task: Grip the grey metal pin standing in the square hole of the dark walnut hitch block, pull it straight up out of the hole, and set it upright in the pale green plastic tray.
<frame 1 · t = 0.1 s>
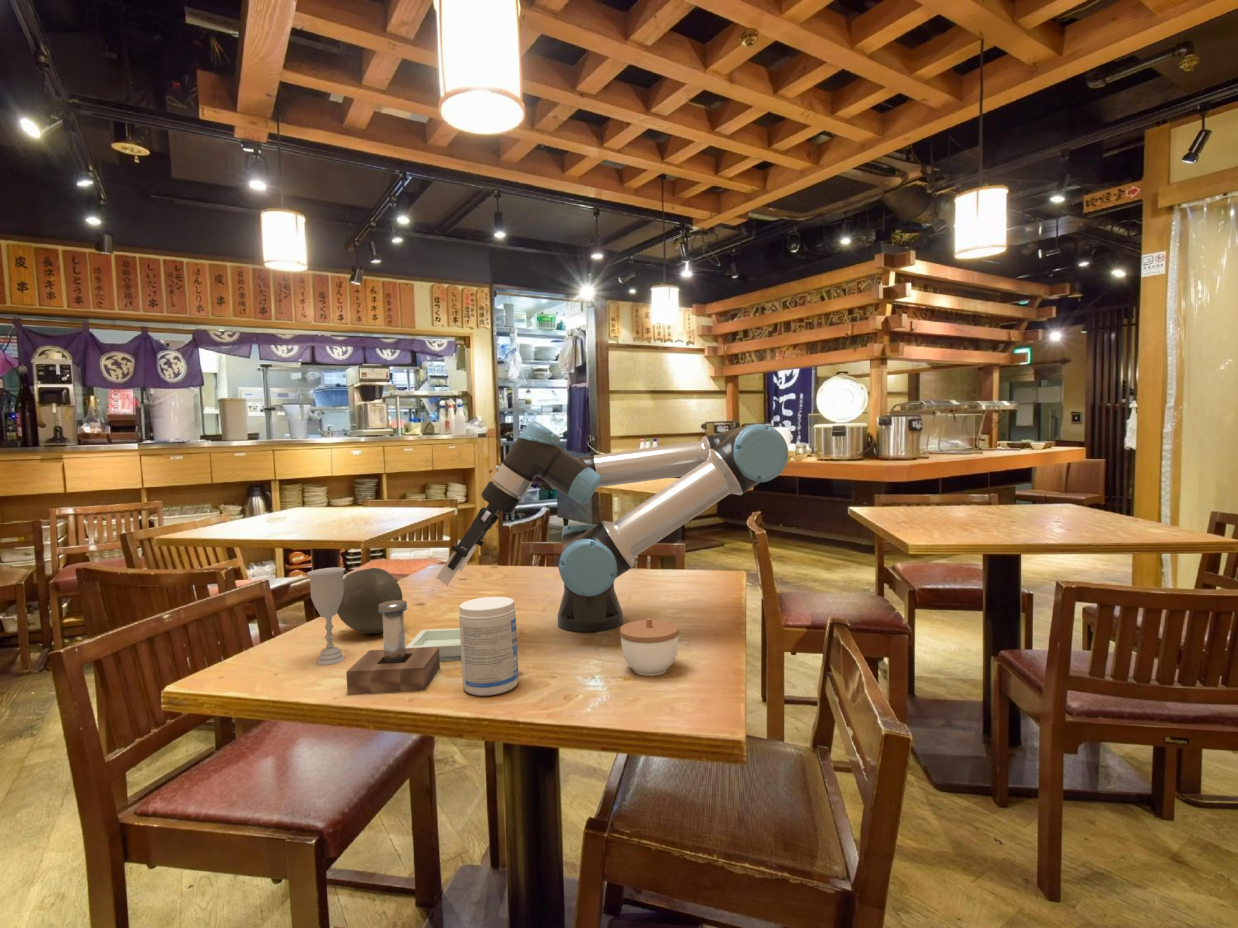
hand: (449, 574, 128), 15 cm above the table, tool tilted 35°, fingers open, 13 cm apart
lidded jar: (650, 670, 112), on the table
metal pin: (394, 642, 111), in the hitch block
tray: (448, 651, 126), on the table
hitch block: (396, 680, 111), on the table
supplement tub: (490, 687, 107), on the table
chalice: (330, 661, 123), on the table
dark grey ball: (371, 635, 140), on the table
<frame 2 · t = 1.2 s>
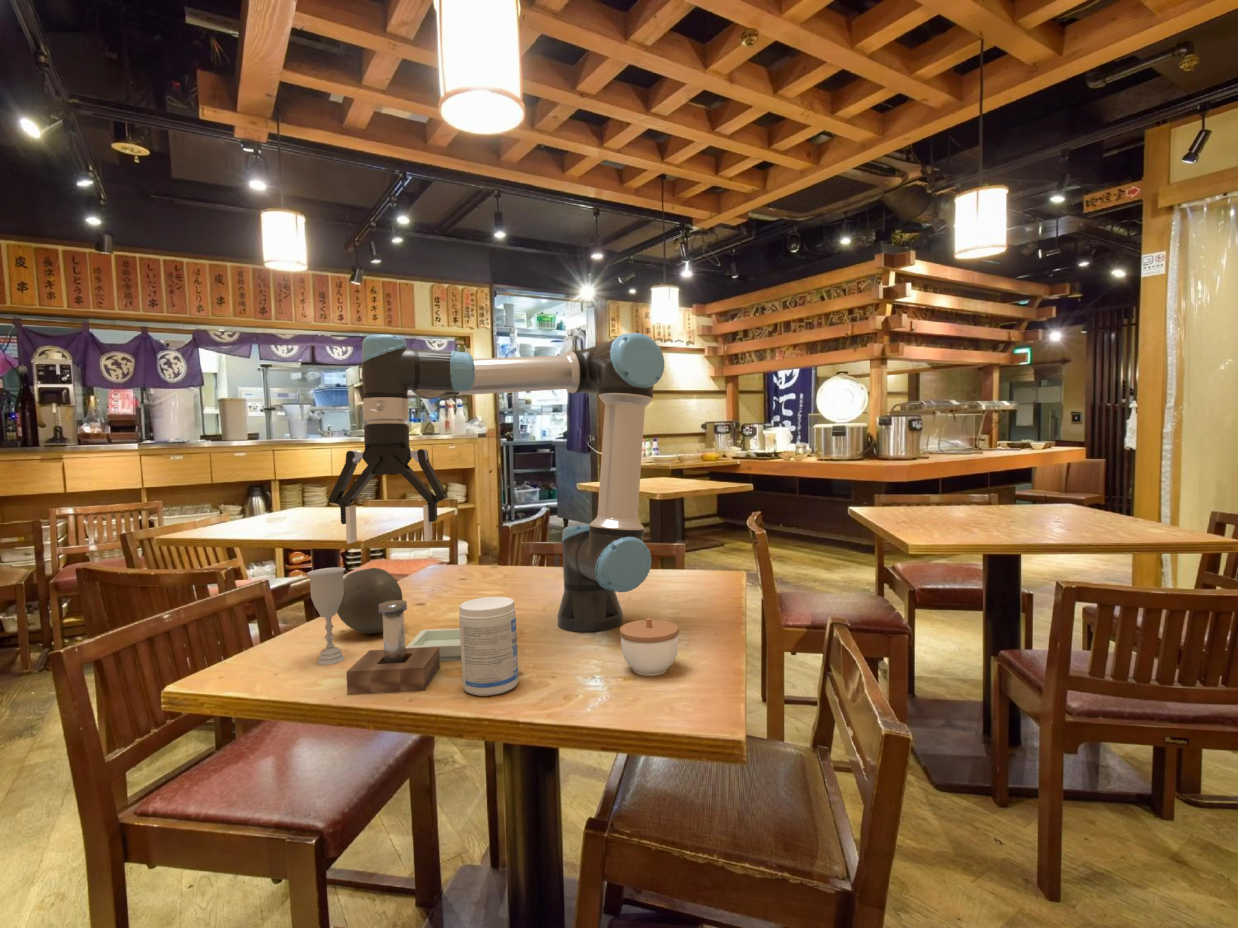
hand: (390, 541, 111), 25 cm above the table, tool pointing down, fingers open, 13 cm apart
nothing on the table moved.
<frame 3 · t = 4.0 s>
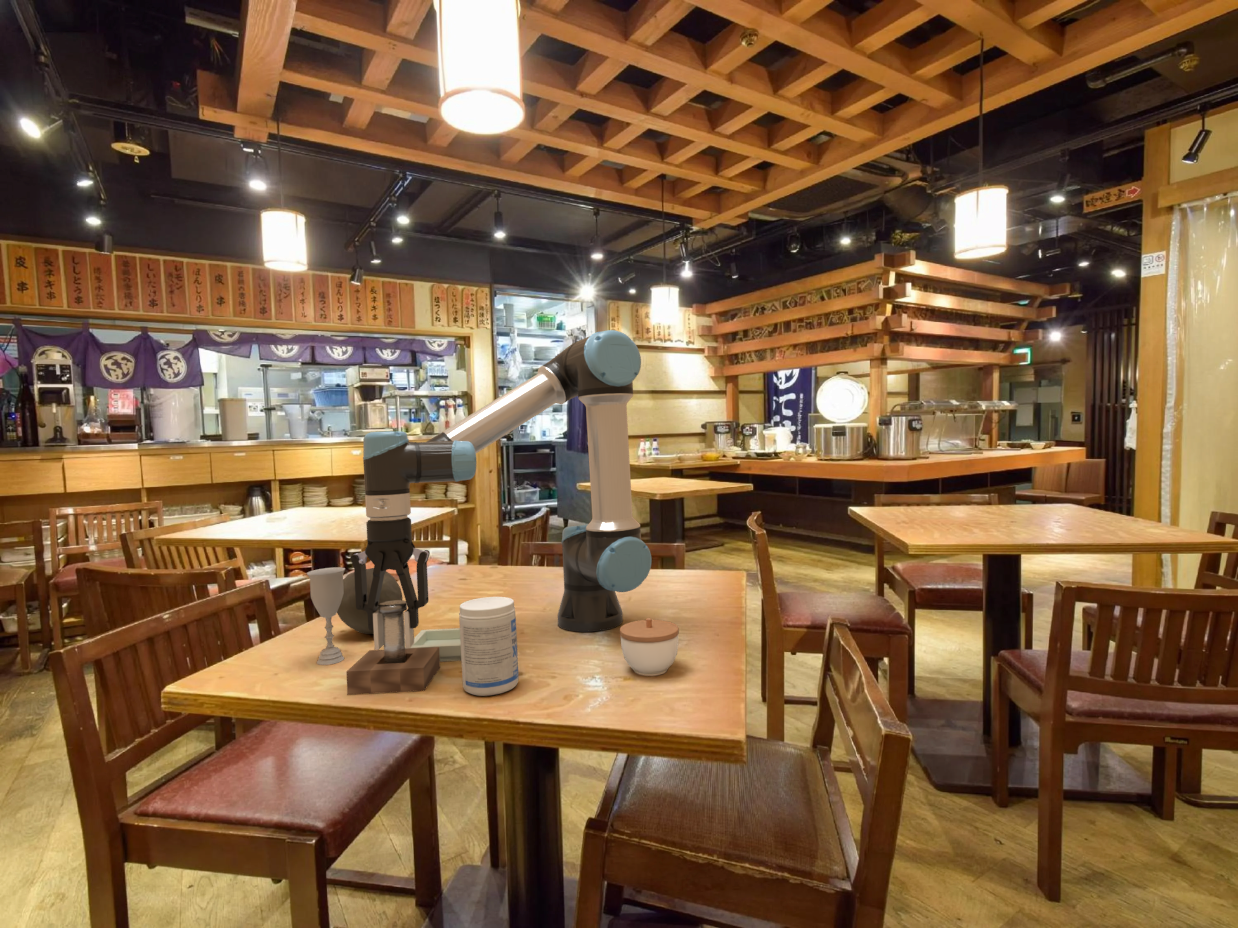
hand: (394, 646, 111), 6 cm above the table, tool pointing down, fingers closed on metal pin, 5 cm apart
metal pin: (394, 642, 111), in the hitch block, touching gripper
everything else where it was.
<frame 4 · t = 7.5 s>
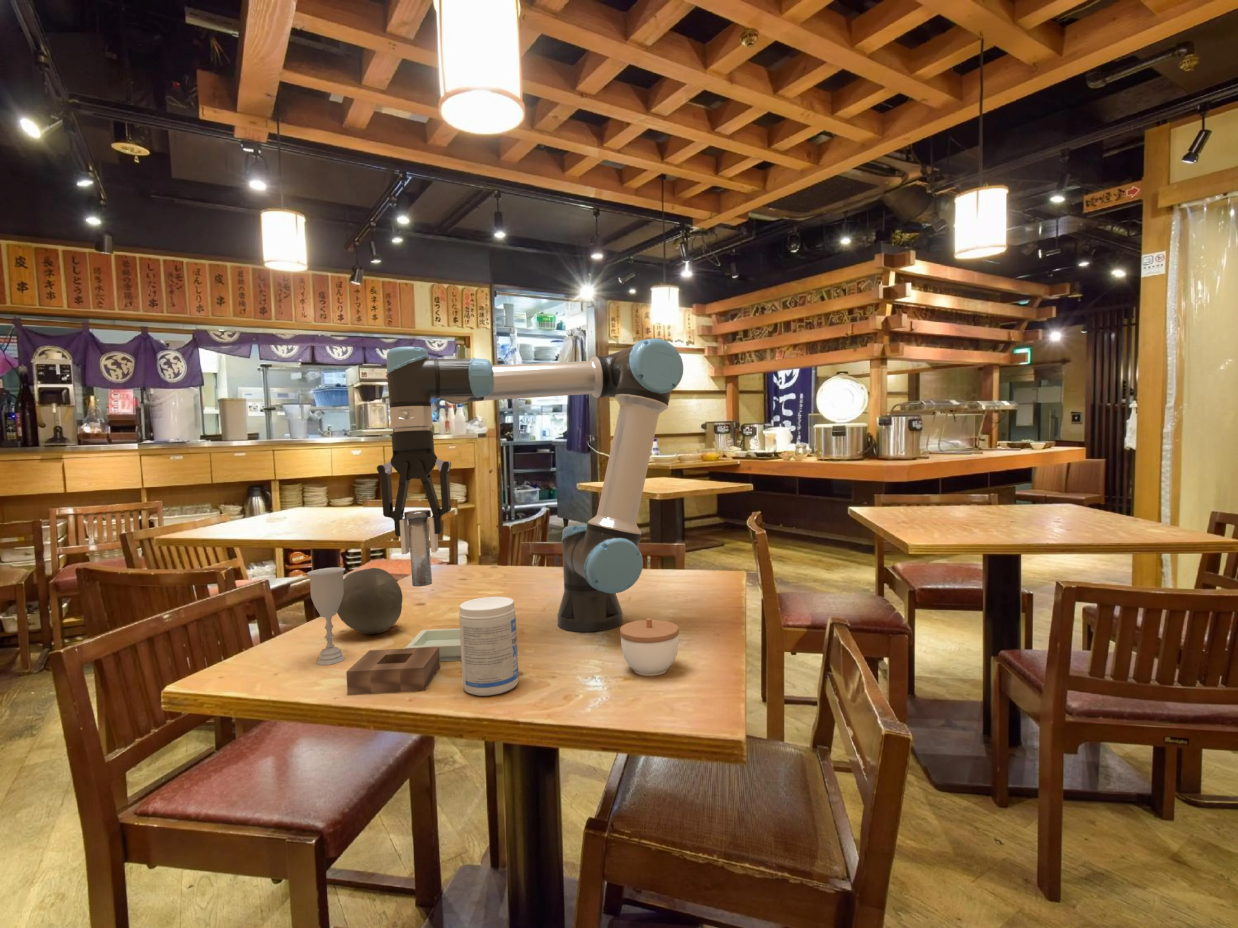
hand: (420, 551, 118), 22 cm above the table, tool pointing down, fingers closed on metal pin, 5 cm apart
metal pin: (419, 547, 118), point 23 cm above the table, touching gripper
everything else where it was.
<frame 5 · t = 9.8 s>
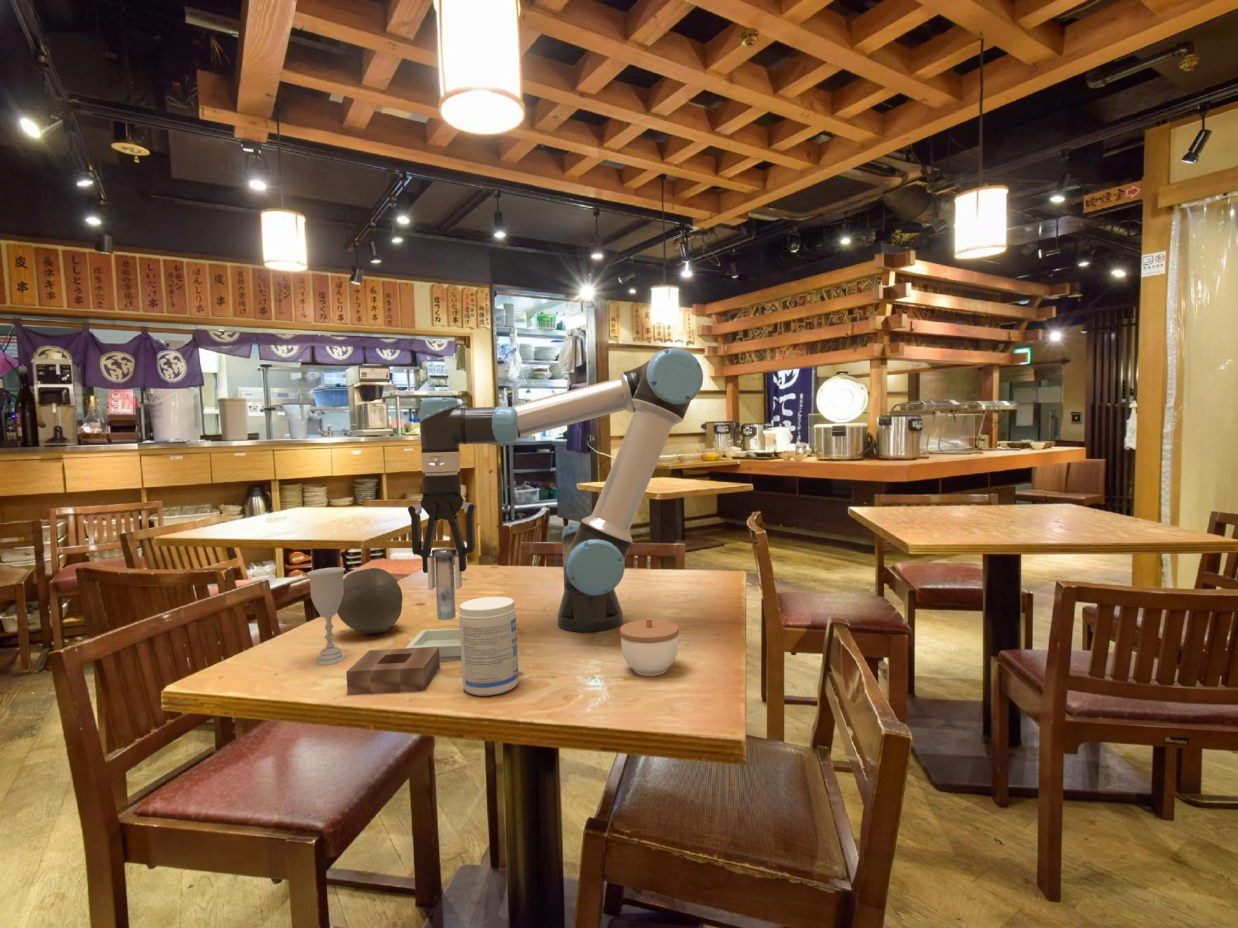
hand: (445, 587, 126), 13 cm above the table, tool pointing down, fingers closed on metal pin, 5 cm apart
metal pin: (445, 583, 126), point 14 cm above the table, touching gripper
everything else where it was.
when the fingers open (9 cm above the table, at t = 11.4 s): metal pin drops 1 cm, resting on tray.
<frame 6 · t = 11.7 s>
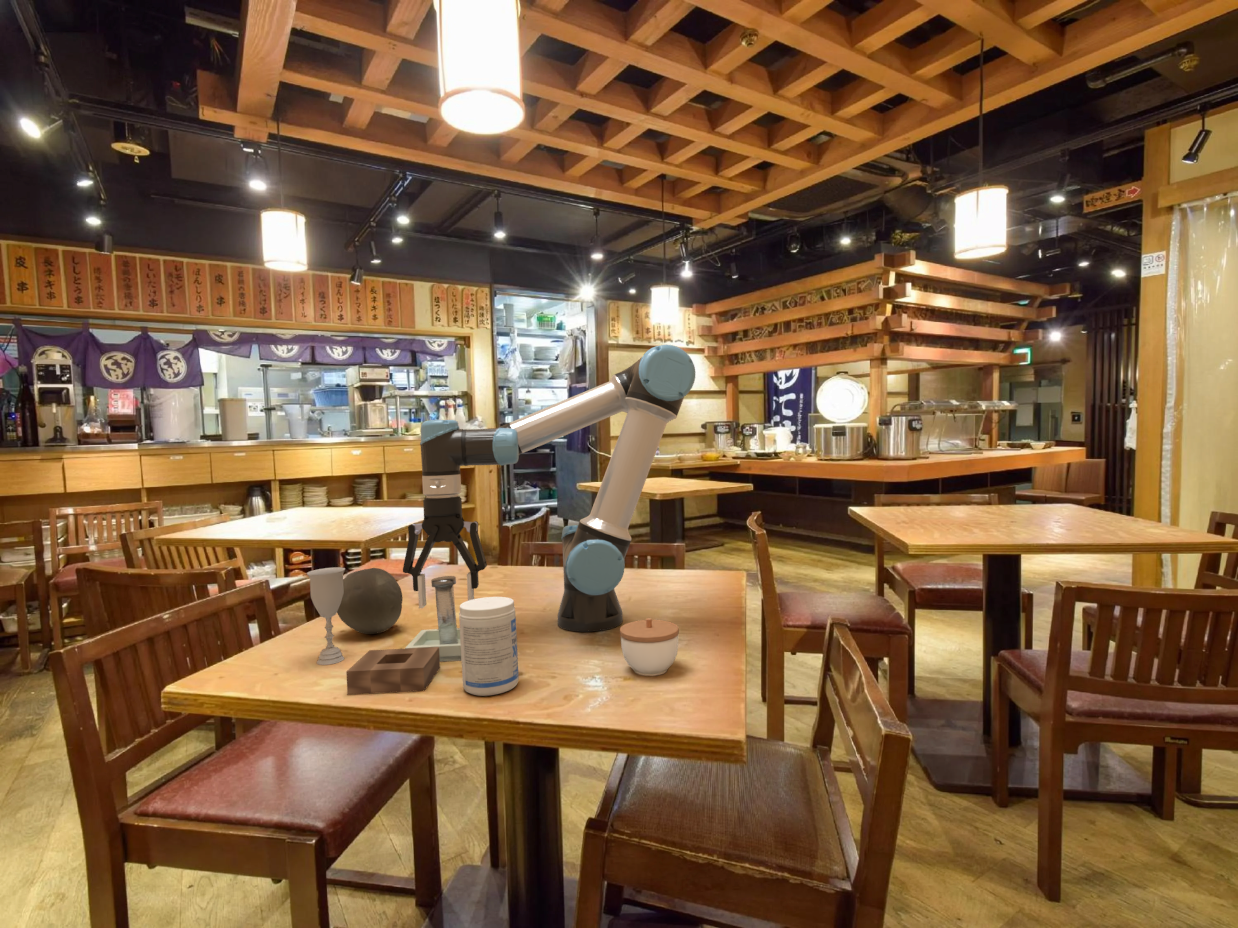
hand: (447, 605, 126), 10 cm above the table, tool pointing down, fingers open, 9 cm apart
metal pin: (446, 612, 126), in the tray, point 8 cm above the table
everything else where it was.
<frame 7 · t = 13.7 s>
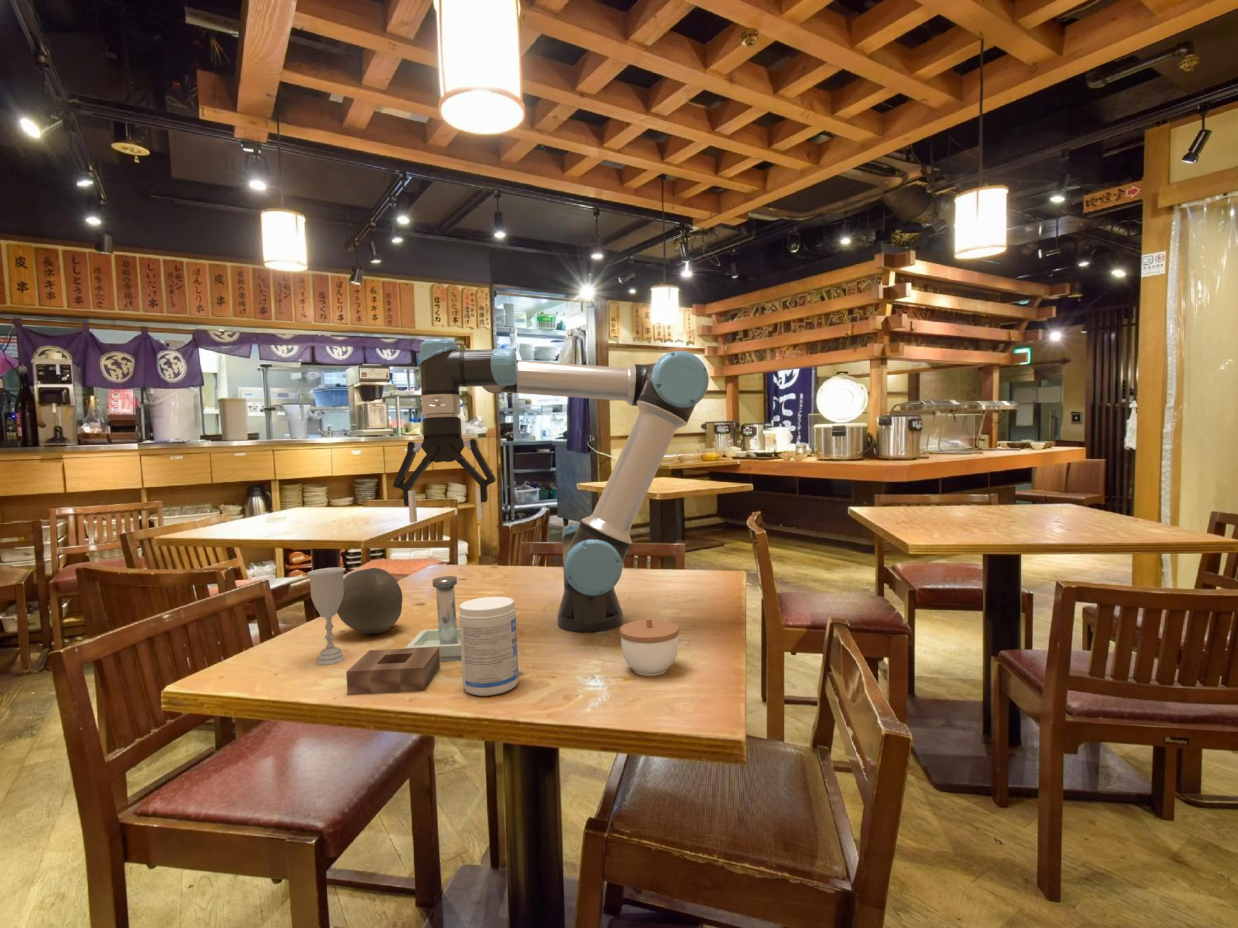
hand: (447, 520, 126), 27 cm above the table, tool pointing down, fingers open, 13 cm apart
nothing on the table moved.
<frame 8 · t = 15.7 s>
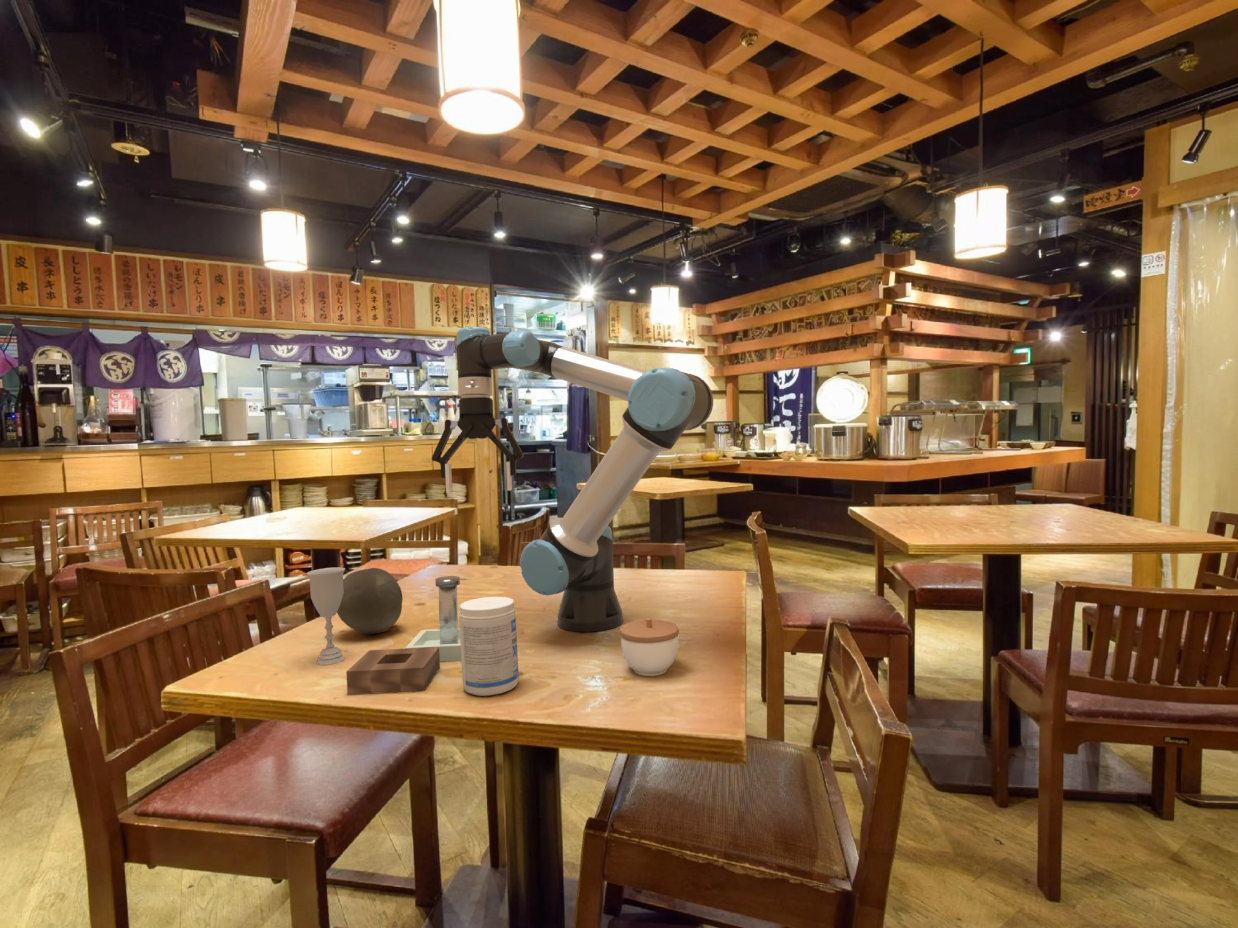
hand: (479, 491, 140), 32 cm above the table, tool pointing down, fingers open, 13 cm apart
nothing on the table moved.
at the end: metal pin inside the target area on the tray (0.1 cm from its centre), point 8.0 cm above the tray's base; the gripper is holding nothing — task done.
